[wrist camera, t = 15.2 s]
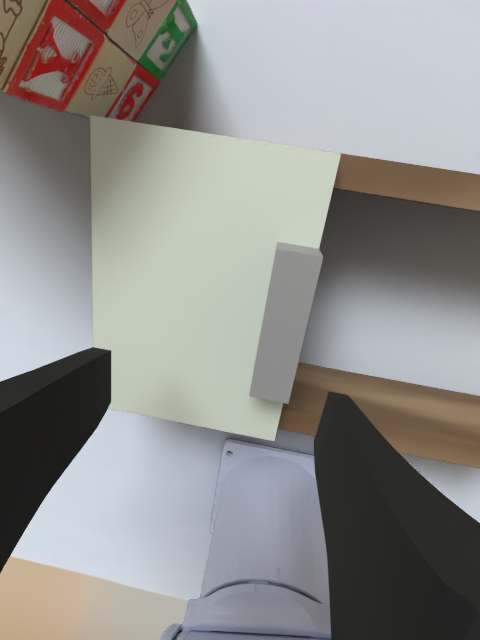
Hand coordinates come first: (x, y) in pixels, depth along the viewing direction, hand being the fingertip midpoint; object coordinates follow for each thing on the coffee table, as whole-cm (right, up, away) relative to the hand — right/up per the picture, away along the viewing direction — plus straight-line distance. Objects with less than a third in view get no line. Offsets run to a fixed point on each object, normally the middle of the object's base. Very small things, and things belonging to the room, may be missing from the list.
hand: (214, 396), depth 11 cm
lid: (-1, +4, +4) cm, 5 cm away
